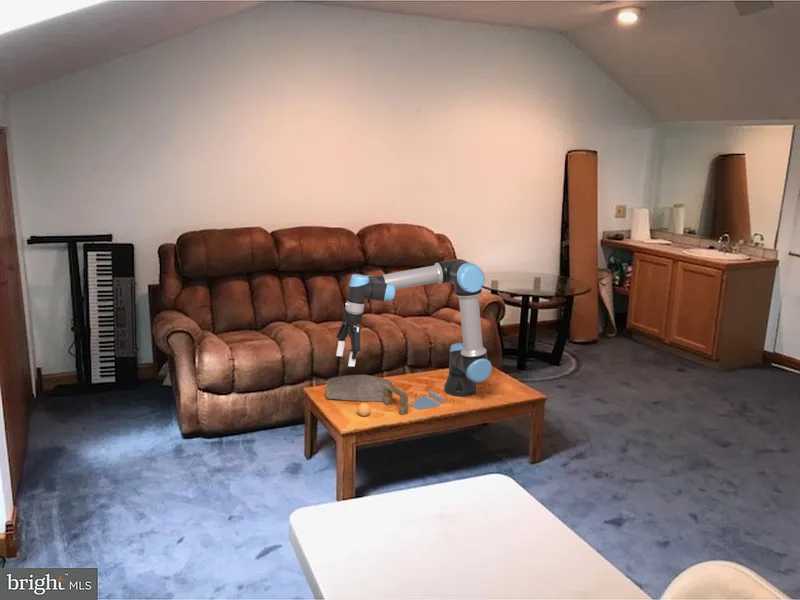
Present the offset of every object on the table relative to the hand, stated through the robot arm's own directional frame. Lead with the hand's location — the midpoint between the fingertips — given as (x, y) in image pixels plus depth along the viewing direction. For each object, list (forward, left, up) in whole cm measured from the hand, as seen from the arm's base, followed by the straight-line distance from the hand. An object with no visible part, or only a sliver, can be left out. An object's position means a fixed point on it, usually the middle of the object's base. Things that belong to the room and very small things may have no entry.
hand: (345, 360), depth 284 cm
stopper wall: (-45, +5, -24) cm, 51 cm away
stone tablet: (-18, -18, -24) cm, 35 cm away
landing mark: (-37, +5, -24) cm, 44 cm away
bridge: (-23, +5, -24) cm, 33 cm away
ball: (-7, +5, -21) cm, 23 cm away
